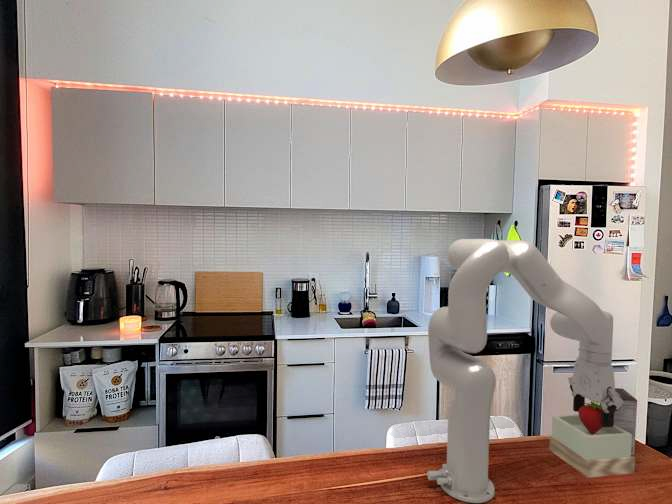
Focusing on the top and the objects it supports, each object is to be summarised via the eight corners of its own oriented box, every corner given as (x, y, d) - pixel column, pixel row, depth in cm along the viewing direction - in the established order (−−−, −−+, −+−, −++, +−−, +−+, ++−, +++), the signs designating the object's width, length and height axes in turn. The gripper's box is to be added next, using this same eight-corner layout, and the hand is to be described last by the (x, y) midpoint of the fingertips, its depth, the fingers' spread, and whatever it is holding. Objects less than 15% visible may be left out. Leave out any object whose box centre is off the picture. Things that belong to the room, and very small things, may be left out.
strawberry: (571, 427, 114) (575, 392, 113) (598, 428, 114) (602, 394, 113) (584, 438, 108) (588, 402, 107) (612, 440, 108) (616, 403, 107)
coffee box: (596, 437, 125) (599, 386, 124) (620, 440, 123) (622, 388, 123) (610, 453, 116) (613, 397, 115) (636, 455, 114) (638, 399, 114)
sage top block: (587, 460, 104) (587, 437, 104) (551, 436, 117) (552, 415, 116) (630, 457, 106) (631, 434, 106) (591, 433, 119) (592, 413, 119)
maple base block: (587, 479, 103) (588, 462, 103) (549, 451, 117) (549, 435, 117) (634, 474, 106) (635, 457, 106) (591, 447, 120) (591, 432, 119)
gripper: (559, 348, 118) (557, 406, 119) (610, 366, 101) (607, 434, 102) (582, 347, 119) (579, 405, 120) (635, 365, 102) (632, 432, 103)
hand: (592, 418), depth 111 cm, fingers open, 9 cm apart
